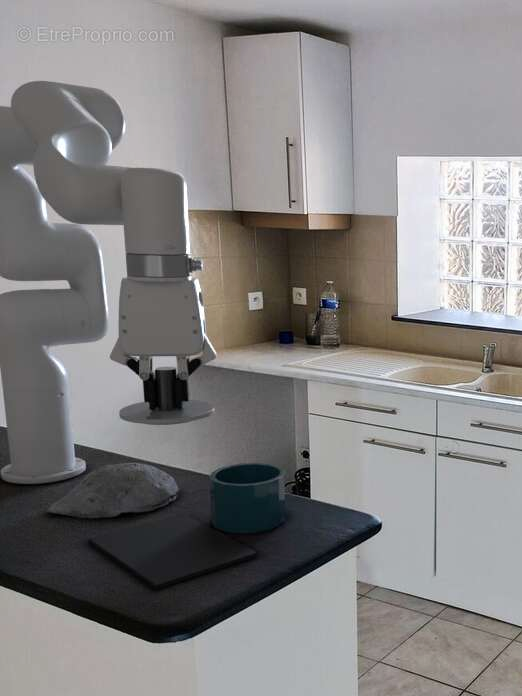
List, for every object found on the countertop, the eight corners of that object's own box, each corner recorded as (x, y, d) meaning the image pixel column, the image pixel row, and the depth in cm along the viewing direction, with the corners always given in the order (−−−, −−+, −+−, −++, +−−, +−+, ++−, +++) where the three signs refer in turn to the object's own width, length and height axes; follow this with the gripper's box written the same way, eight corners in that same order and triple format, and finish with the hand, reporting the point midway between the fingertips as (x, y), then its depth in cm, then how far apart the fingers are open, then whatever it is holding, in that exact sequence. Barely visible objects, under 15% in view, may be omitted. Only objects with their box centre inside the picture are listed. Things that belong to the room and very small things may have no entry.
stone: (116, 458, 137) (191, 445, 133) (128, 500, 138) (202, 489, 134) (33, 485, 120) (116, 472, 116) (46, 533, 121) (129, 522, 117)
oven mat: (88, 542, 112) (88, 538, 111) (185, 517, 122) (185, 513, 122) (156, 589, 99) (156, 585, 99) (257, 556, 110) (257, 552, 110)
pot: (215, 509, 126) (213, 464, 124) (285, 505, 129) (284, 461, 127) (208, 535, 116) (206, 486, 114) (285, 531, 119) (283, 483, 117)
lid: (128, 408, 110) (125, 360, 109) (218, 406, 114) (216, 360, 112) (111, 430, 100) (107, 377, 98) (210, 427, 103) (208, 376, 101)
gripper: (228, 267, 108) (234, 399, 112) (95, 264, 103) (106, 402, 108) (224, 271, 101) (230, 412, 105) (81, 268, 96) (93, 415, 101)
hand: (167, 406), depth 106 cm, fingers closed on lid, 2 cm apart
